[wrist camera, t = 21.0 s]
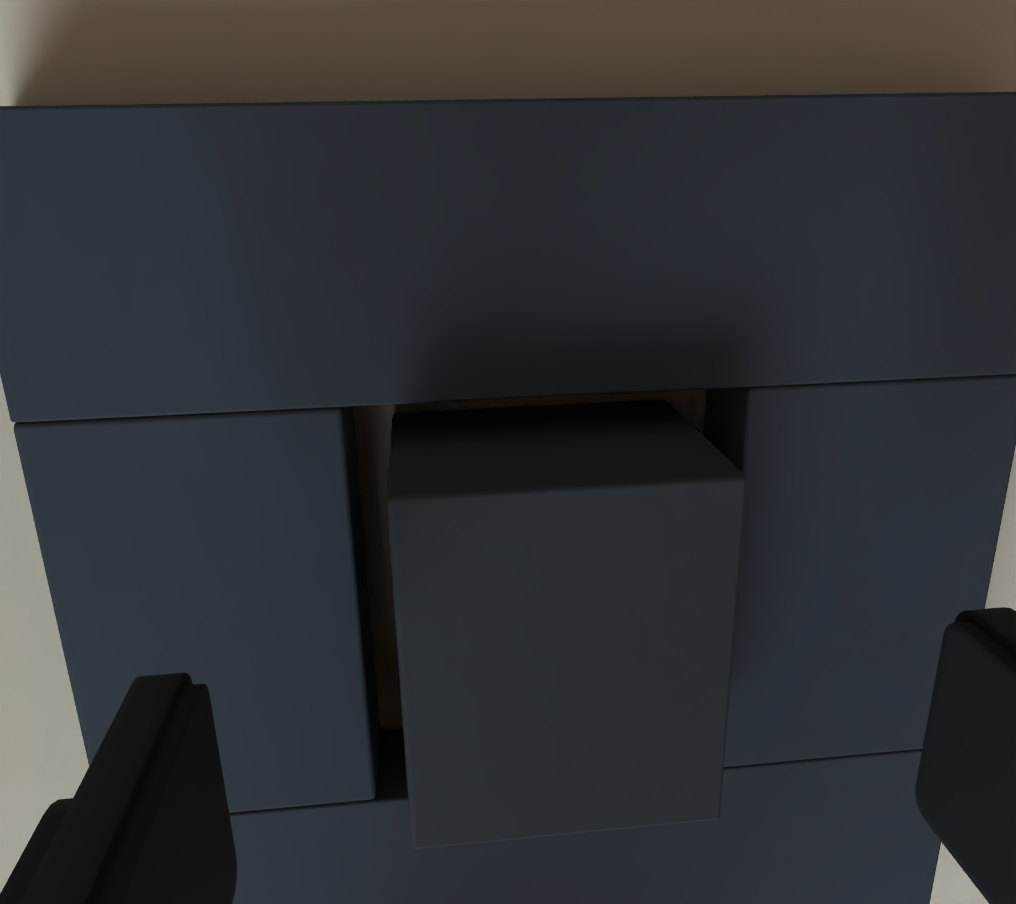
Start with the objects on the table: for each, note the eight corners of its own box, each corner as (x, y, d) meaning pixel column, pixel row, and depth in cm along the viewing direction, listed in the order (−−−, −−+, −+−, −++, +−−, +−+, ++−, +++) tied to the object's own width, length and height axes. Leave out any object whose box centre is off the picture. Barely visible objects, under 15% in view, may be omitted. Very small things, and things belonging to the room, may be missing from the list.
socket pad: (7, 114, 13) (-62, 106, 11) (996, 99, 14) (1085, 90, 12) (168, 917, 18) (140, 1005, 16) (878, 843, 20) (928, 915, 18)
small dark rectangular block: (391, 412, 15) (386, 497, 11) (666, 398, 15) (748, 475, 12) (411, 698, 17) (412, 851, 13) (654, 678, 17) (721, 821, 14)
